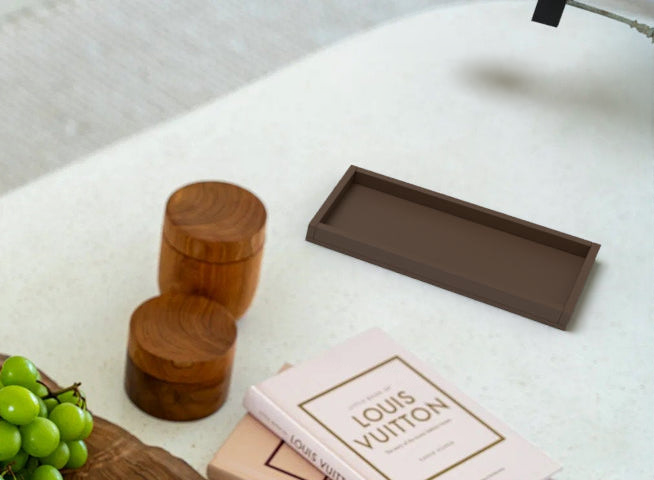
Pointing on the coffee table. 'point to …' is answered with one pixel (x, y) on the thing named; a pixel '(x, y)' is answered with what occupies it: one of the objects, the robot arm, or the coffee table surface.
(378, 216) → the cutlery tray
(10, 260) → the coffee table surface
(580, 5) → the soupspoon
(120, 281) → the coffee table surface
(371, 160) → the coffee table surface
